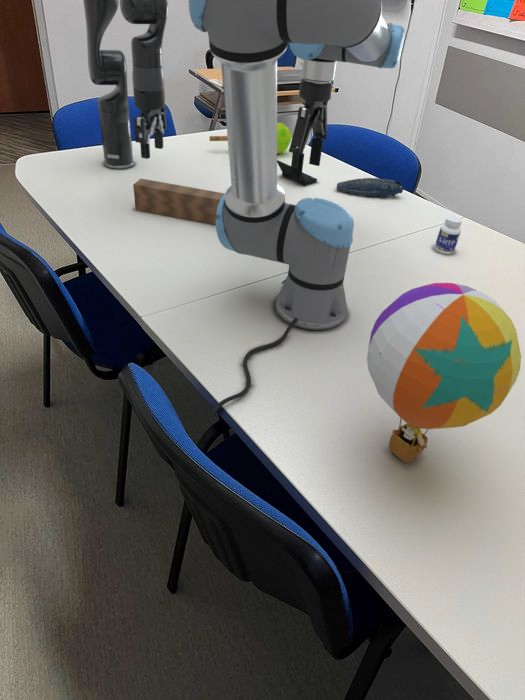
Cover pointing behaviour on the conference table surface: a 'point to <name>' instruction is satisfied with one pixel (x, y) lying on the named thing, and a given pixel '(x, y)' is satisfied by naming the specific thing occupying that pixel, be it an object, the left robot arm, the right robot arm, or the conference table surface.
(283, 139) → the decorative tree
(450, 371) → the toy
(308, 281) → the right robot arm
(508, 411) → the conference table surface
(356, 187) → the fish model
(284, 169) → the handheld gaming console
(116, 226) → the conference table surface
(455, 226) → the pill bottle
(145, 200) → the post
